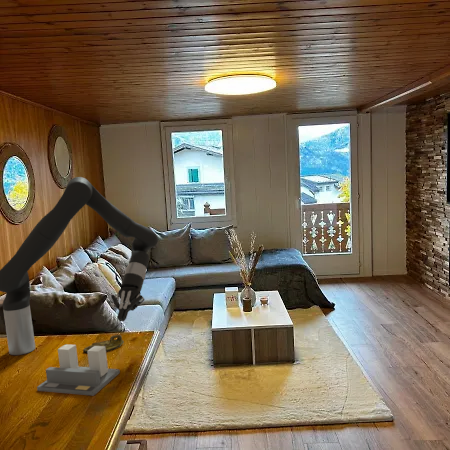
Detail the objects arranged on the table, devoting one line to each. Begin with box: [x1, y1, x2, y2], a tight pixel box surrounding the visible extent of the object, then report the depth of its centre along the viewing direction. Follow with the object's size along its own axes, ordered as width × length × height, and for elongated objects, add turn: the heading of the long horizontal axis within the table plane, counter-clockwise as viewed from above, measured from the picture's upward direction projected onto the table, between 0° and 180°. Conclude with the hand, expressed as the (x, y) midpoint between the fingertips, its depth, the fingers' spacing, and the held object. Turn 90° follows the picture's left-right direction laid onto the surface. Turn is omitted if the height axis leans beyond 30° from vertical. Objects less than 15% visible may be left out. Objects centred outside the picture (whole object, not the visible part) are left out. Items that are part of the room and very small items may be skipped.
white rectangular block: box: [57, 343, 80, 369], centre depth 147 cm, size 4×4×8 cm
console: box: [36, 366, 121, 396], centre depth 143 cm, size 15×20×5 cm
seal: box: [82, 334, 125, 354], centre depth 170 cm, size 9×5×15 cm
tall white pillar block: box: [87, 346, 109, 377], centre depth 144 cm, size 4×4×8 cm
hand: (120, 320), depth 158 cm, fingers closed
